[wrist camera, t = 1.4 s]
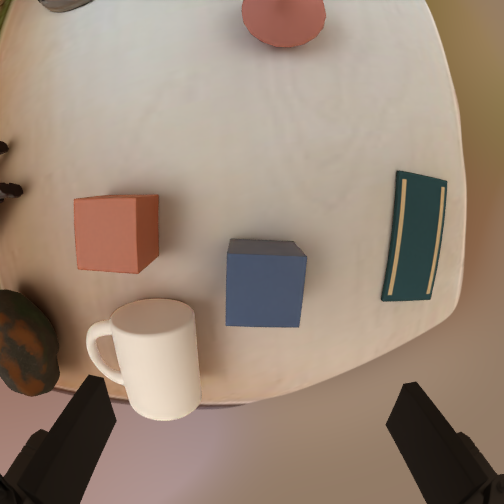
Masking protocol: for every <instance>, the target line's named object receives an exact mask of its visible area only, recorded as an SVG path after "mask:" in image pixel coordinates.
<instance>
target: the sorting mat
mask: <svg viewBox="0 0 504 504" xmlns="http://www.w3.org/2000/svg"><path fill="white" fill-rule="evenodd" d="M446 195H447V181H445V180H441V179H437V178H432V177H428V176H423V175H419V174H414V173H409V172H404V171H397V175H396V192H395V205H394V216H393V225H392V234H391V242H390V249H389V256H388V263H387V269H386V275H385V281H384V286H383V292H382V297H381V300H382V301H383V302H384V301H413V300H430V299H431V294H432V290H433V286H434V281H435V276H436V271H437V266H438V260H439V254H440V248H441V241H442V234H443V226H444V218H445V207H446Z"/></svg>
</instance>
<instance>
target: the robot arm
mask: <svg viewBox="0 0 504 504" xmlns="http://www.w3.org/2000/svg"><path fill="white" fill-rule="evenodd" d="M38 1H39V2H41V4H42V5H43V6H45V7H46V8H47V9H48V10H50V11H52V12H64V11H68V10H72V9H74V8H77V7H79V6H82V5H84V4H86V3H88V2H90V1H91V0H38ZM115 423H116V417H115V414H114V411H113V408H112V405H111V402H110V398H109V395H108V392H107V388H106V384H105V381H104V378H102V377H97V376H93V375H88V377H87V378H86V379H85V381H84V382H83V383H82V385H81V386H80V388H79V389H78V390H77V392H76V393H75V395H74V396H73V398H72V399H71V400H70V402H69V403H68V405H67V406H66V408H65V409H64V410H63V412H62V414H61V415H60V416H59V418H58V419H57V420H56V422H55V423H54V425H53V426H52V428H51V429H50V431H49V432H47V431H45V430H42V429H40V430H39V431H37V432H35V433H34V434H33V435H31V437H30V438H29V440H28V441H27V443H26V446H24V447H23V448H22V450H21V452H20V453H19V454H18V456H17V457H16V459H15V461H14V462H13V464H12V465H11V467H10V468H9V470H8V472H7V473H6V475H5V476H4V477H2V475H1V474H0V504H80V502H81V500H82V497H83V495H84V492H85V490H86V488H87V485H88V483H89V481H90V478H91V476H92V474H93V471H94V469H95V467H96V465H97V462H98V460H99V458H100V456H101V453H102V451H103V449H104V447H105V445H106V442H107V440H108V438H109V436H110V434H111V432H112V429H113V427H114V425H115ZM386 426H387V428H388V430H389V432H390V434H391V436H392V437H393V439H394V441H395V443H396V445H397V447H398V449H399V451H400V453H401V454H402V456H403V458H404V460H405V462H406V464H407V466H408V468H409V470H410V471H411V473H412V475H413V477H414V479H415V481H416V483H417V485H418V487H419V489H420V491H421V493H422V495H423V497H424V499H425V501H426V503H427V504H504V474H500V475H497V473H496V472H495V471H494V470H493V468H492V467H491V466H490V464H489V463H488V461H487V460H486V459H485V458H484V456H483V455H482V453H480V452H479V450H478V448H477V447H475V444H474V443H473V441H472V440H471V439H470V437H468V436H467V435H465V434H464V433H462V432H459V433H456V432H455V431H454V429H453V428H452V427H451V425H450V424H449V423H448V421H447V420H446V419H445V417H444V416H443V415H442V414H441V412H440V411H439V410H438V409H437V407H436V406H435V405H434V403H433V402H432V401H431V400H430V398H429V397H428V396H427V394H426V393H425V392H424V391H423V389H422V388H421V387H420V386H419V384H418V383H417V382H411V383H406V384H403V386H402V389H401V392H400V394H399V396H398V399H397V401H396V403H395V406H394V408H393V410H392V412H391V414H390V416H389V418H388V421H387V423H386Z"/></svg>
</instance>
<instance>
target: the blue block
mask: <svg viewBox="0 0 504 504" xmlns="http://www.w3.org/2000/svg"><path fill="white" fill-rule="evenodd" d="M306 264H307V256H306V255H305V254H304V253H303V251H302V250H301V249H300V248H299V247H298V246H297V245H296V244H295V242H293V241H273V240H250V239H230V244H229V248H228V252H227V275H226V326H244V327H299V325H300V317H301V309H302V301H303V292H304V283H305V274H306Z"/></svg>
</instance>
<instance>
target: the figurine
mask: <svg viewBox="0 0 504 504" xmlns="http://www.w3.org/2000/svg"><path fill="white" fill-rule="evenodd" d="M8 149H9V148H8V146H7V144H6V143H4V142H2V141H0V154H3V153H6V152H7V151H8ZM22 194H23V190H22V188H21V186H20V185H17V184H13V183H9V184H5V183H0V203H1V202H3V201H4V199H5V198H7V197H9V198H17V197H20V196H21V195H22Z"/></svg>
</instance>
